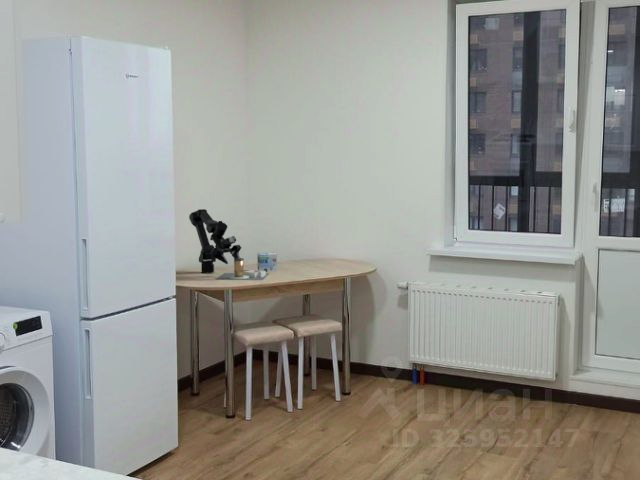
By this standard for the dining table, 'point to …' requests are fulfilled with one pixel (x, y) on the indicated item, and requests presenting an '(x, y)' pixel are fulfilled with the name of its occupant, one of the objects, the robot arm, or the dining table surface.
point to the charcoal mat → (226, 276)
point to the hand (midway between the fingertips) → (233, 262)
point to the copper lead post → (238, 267)
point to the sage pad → (239, 277)
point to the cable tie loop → (255, 273)
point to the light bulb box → (267, 262)
